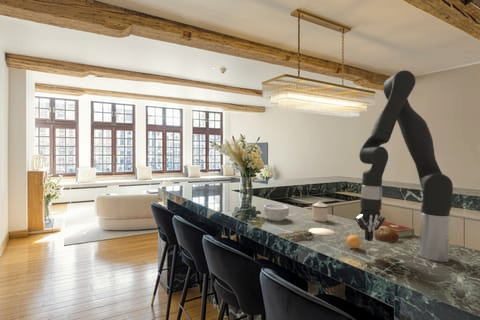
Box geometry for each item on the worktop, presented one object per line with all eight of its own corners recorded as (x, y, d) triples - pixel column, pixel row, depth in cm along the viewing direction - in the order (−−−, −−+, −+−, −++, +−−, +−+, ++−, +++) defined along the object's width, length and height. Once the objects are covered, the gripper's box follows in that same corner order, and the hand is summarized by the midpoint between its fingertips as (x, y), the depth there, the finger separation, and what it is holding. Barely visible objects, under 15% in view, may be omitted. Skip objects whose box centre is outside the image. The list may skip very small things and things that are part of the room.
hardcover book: (378, 226, 160) (378, 218, 160) (414, 236, 141) (414, 228, 141) (362, 228, 156) (363, 220, 155) (397, 239, 136) (397, 230, 136)
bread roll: (381, 242, 140) (374, 227, 142) (402, 237, 134) (395, 221, 136) (376, 247, 133) (368, 231, 135) (398, 242, 127) (390, 225, 129)
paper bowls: (290, 222, 164) (290, 208, 163) (264, 221, 164) (264, 208, 163) (286, 216, 179) (286, 204, 179) (262, 216, 179) (262, 203, 179)
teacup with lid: (330, 221, 168) (331, 201, 168) (318, 222, 164) (319, 202, 164) (317, 216, 179) (318, 198, 179) (305, 218, 175) (306, 199, 175)
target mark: (338, 231, 146) (338, 230, 146) (330, 237, 136) (330, 236, 136) (313, 227, 154) (313, 226, 154) (304, 232, 143) (304, 232, 143)
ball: (361, 247, 121) (362, 235, 121) (359, 251, 116) (359, 238, 116) (348, 245, 124) (348, 232, 124) (345, 248, 119) (345, 235, 119)
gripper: (363, 198, 106) (361, 244, 106) (392, 198, 109) (389, 242, 110) (350, 195, 113) (348, 238, 114) (377, 195, 117) (375, 236, 117)
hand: (368, 240), depth 112 cm, fingers closed
